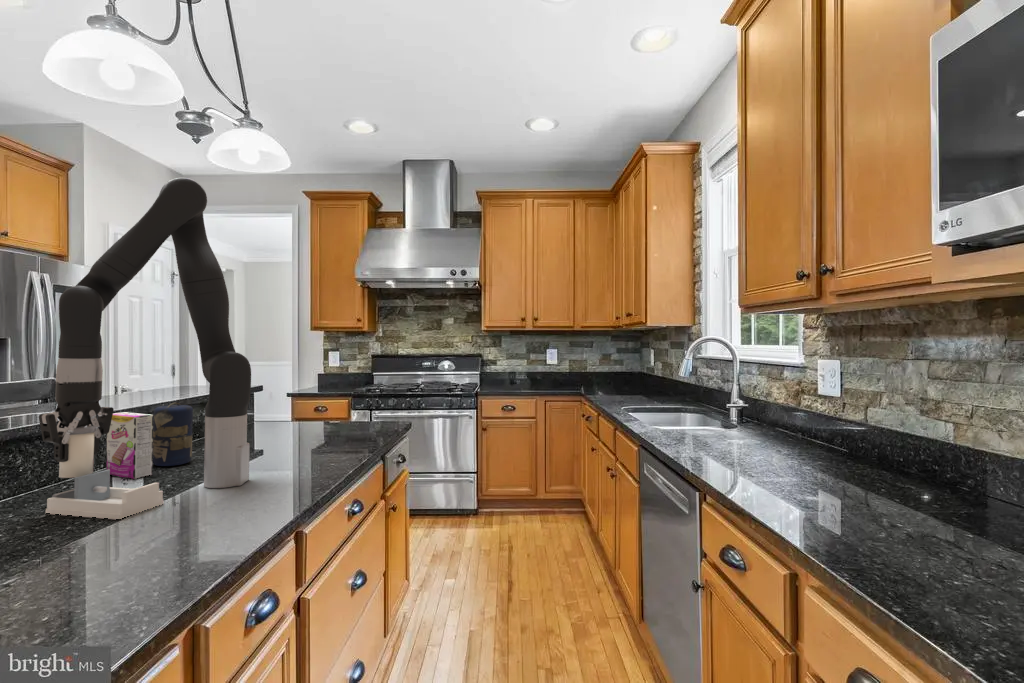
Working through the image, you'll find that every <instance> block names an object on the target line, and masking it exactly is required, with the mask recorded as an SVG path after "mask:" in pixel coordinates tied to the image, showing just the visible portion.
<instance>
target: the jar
mask: <svg viewBox="0 0 1024 683" xmlns="http://www.w3.org/2000/svg"><path fill="white" fill-rule="evenodd" d="M64 428H67V427H64ZM95 430H96V426H91V425H89V426H80V427H77V428H76V429H74V430H73V432H72V433H70V435H71V436H70V438H69V440H68V442H67V443H66V444H69V450H68V461H66V462H58V463H59V464H58V466H59V468H58V477H59V478H61V479H68V478H69V479H72V478H76V477H80V476H84V475H88V474H92V473H94V458H95V456H94V433H95ZM63 433H64V432H61V435H62V436H63Z"/></svg>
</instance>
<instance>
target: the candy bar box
mask: <svg viewBox="0 0 1024 683" xmlns="http://www.w3.org/2000/svg"><path fill="white" fill-rule="evenodd" d="M153 421H154V414H148V413H137V412H131V411H130V412H127V411H124V412H115V413H114V412H113V416H112V420H111V425H110V430H109V433H108V434H106V465H105V466H106V469H105V470H110V475H112V477H116V476H119V477H118V478H124V477H125V479H130V478H131V480H132V479H133V480H137V478H138V479H141V478H140V477H142V478H145V476H146V477H150V476H152V475H153ZM149 475H150V476H149Z"/></svg>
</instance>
